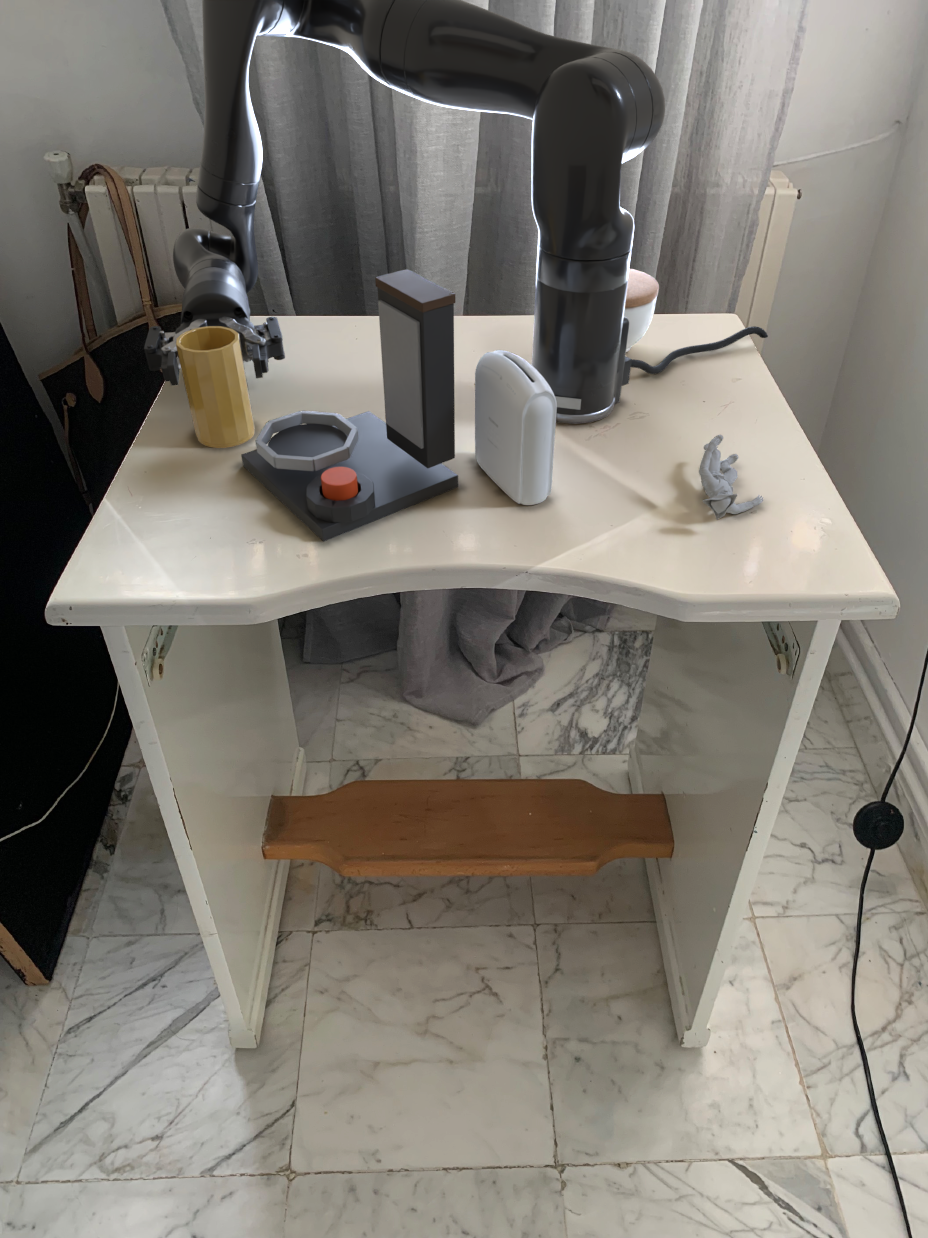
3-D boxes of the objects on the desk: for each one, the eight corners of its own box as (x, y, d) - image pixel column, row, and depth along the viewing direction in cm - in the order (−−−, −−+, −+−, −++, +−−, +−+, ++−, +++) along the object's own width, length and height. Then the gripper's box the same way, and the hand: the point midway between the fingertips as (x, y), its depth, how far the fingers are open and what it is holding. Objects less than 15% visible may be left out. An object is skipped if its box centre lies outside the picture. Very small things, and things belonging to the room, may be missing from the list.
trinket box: (657, 363, 108) (669, 285, 101) (567, 363, 108) (574, 285, 101) (642, 326, 116) (652, 251, 110) (559, 327, 116) (564, 252, 109)
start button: (346, 478, 84) (344, 462, 82) (364, 494, 82) (363, 477, 80) (316, 490, 82) (314, 473, 81) (334, 506, 80) (332, 489, 79)
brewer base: (370, 422, 97) (368, 396, 95) (461, 489, 87) (461, 462, 85) (243, 466, 90) (238, 439, 88) (326, 545, 80) (323, 517, 78)
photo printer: (468, 460, 91) (468, 343, 83) (506, 450, 92) (510, 334, 84) (517, 511, 84) (522, 389, 76) (556, 500, 85) (566, 379, 77)
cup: (239, 414, 98) (222, 320, 91) (265, 436, 95) (249, 341, 88) (187, 430, 96) (166, 335, 89) (212, 454, 92) (191, 357, 85)
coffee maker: (370, 397, 95) (359, 243, 84) (456, 458, 86) (455, 293, 75) (243, 440, 88) (214, 278, 78) (321, 510, 79) (300, 338, 69)
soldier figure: (756, 479, 90) (783, 512, 79) (716, 509, 92) (737, 546, 81) (709, 419, 88) (730, 445, 77) (669, 451, 90) (684, 481, 79)
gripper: (144, 283, 100) (134, 344, 88) (273, 273, 102) (281, 331, 90) (159, 347, 105) (152, 413, 93) (282, 337, 107) (290, 400, 95)
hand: (215, 373), depth 92 cm, fingers open, 8 cm apart
